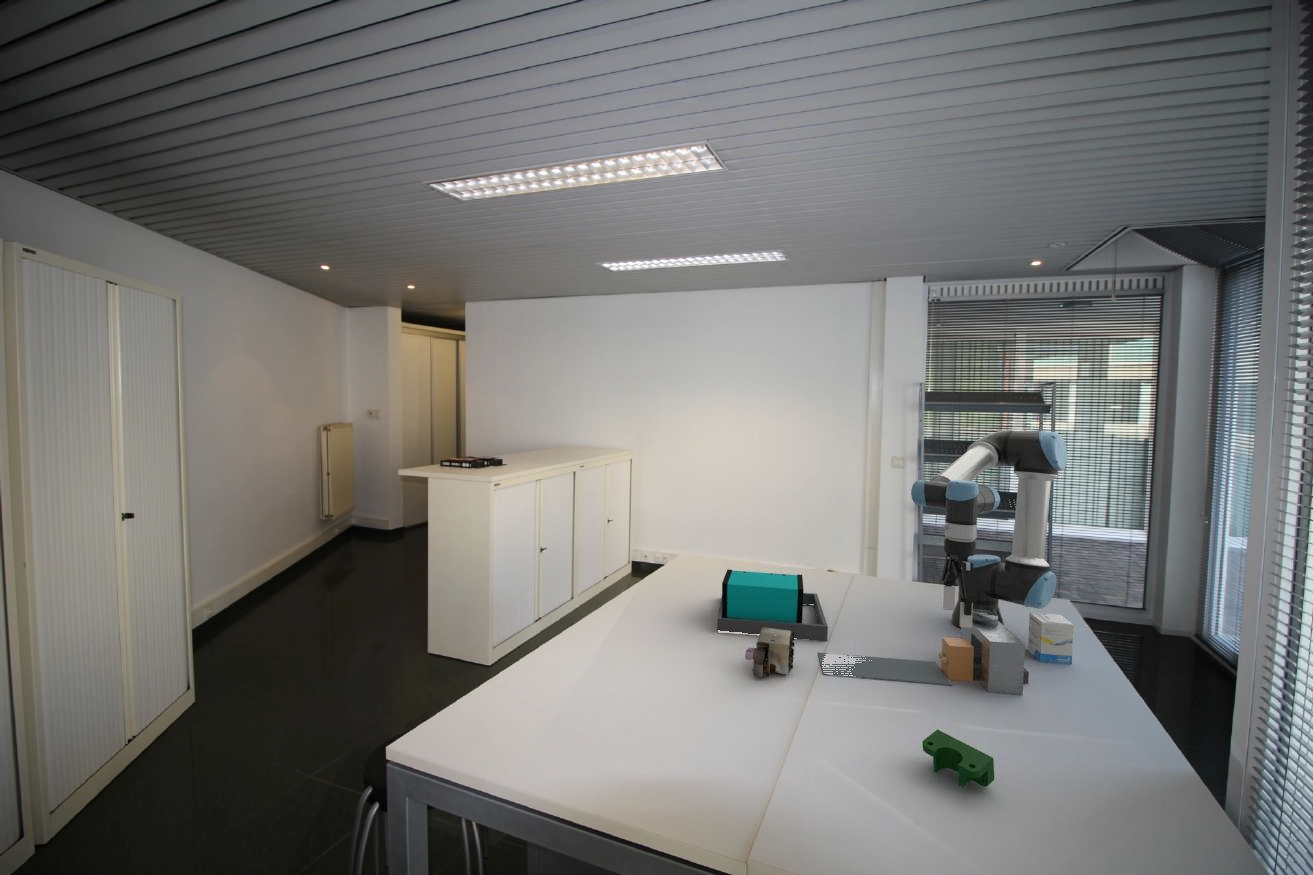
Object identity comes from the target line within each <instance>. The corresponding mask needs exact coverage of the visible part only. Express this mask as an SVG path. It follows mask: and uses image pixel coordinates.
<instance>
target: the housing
mask: <svg viewBox="0 0 1313 875" xmlns="http://www.w3.org/2000/svg"><path fill="white" fill-rule="evenodd" d="M960 639H966V640H967V641H968V642H969V643H970V644H971V645H972V646H973V647H974V660H973V664H982V665H981V680H980V684H981V685H982V687H983V688H984V689H985V690H986V692H988V693H993V694H995V693H996V694H1006V695H1019V696H1023V695H1024V683H1023V677H1024V668H1025V650H1026V649H1025V648H1026V644H1025V642H1024V641H1022V640H1021V639H1020V638H1019V637H1018V636H1017V635H1015V634H1014V633H1013V632H1012V631H1011V630H1009V629H1008V628H1007V627H1006V626H1005V624H1004V625H1002V624H1001V623H1000V622H999V621H998V614H996V613H994V612H991V611H987V610H981V609H973V614H972V628H970V627H961V628H960Z"/></svg>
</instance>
